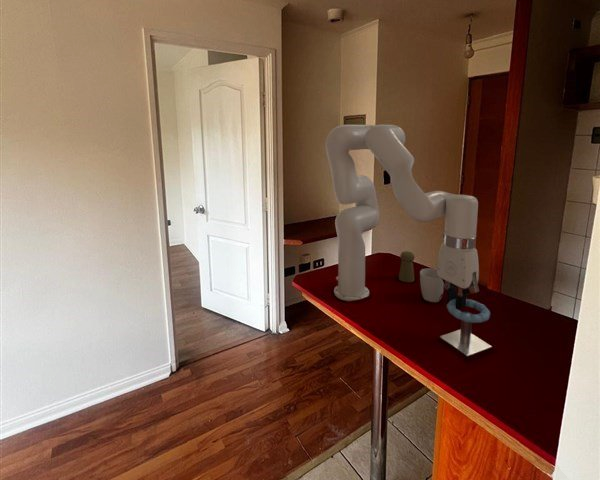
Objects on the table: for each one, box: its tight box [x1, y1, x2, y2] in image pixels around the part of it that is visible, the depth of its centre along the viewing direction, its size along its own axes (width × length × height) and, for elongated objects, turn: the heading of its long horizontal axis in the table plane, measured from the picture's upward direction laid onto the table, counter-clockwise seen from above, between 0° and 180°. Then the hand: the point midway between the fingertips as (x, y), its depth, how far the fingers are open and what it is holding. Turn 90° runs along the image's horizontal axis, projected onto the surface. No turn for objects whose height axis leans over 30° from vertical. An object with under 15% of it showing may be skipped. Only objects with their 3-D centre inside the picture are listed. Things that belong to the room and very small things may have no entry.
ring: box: [446, 298, 491, 324], centre depth 86 cm, size 10×10×2 cm
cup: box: [419, 267, 445, 303], centre depth 110 cm, size 8×8×10 cm
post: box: [439, 311, 493, 358], centre depth 87 cm, size 9×9×9 cm
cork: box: [398, 250, 416, 283], centre depth 127 cm, size 6×6×11 cm
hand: (455, 305), depth 89 cm, fingers closed on ring, 2 cm apart
